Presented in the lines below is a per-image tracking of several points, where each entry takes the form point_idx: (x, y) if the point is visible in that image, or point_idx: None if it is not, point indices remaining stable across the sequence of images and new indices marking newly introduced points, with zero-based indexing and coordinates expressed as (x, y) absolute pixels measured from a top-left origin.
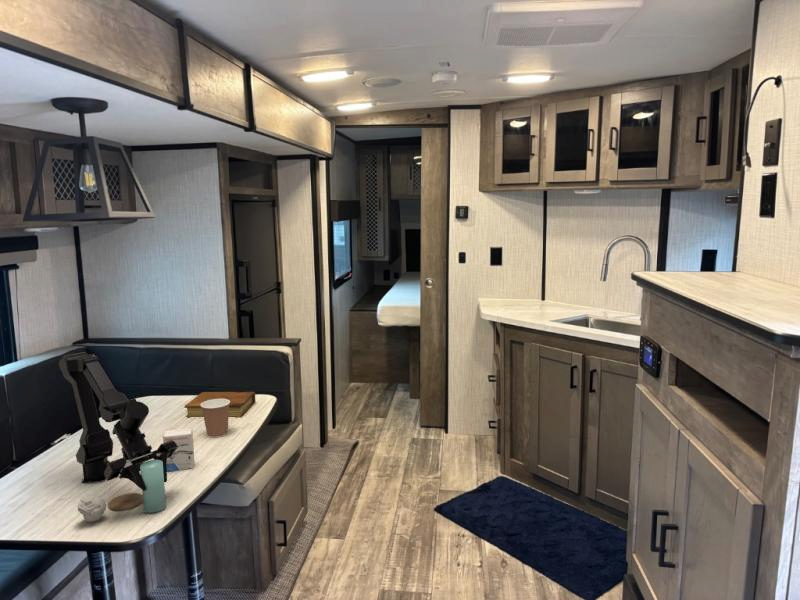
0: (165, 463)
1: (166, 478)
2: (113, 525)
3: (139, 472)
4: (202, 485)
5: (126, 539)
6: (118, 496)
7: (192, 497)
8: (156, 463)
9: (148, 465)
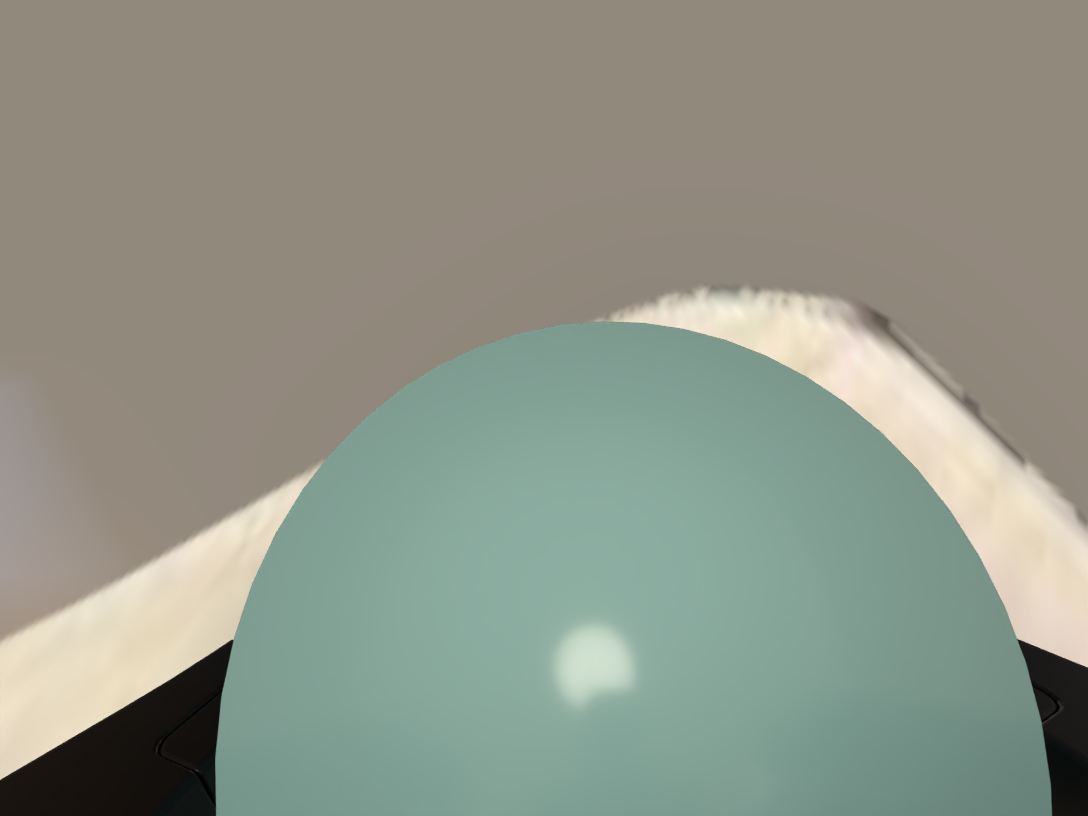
0: (164, 704)
1: None
2: None
3: None
4: (41, 671)
5: (873, 354)
6: None
7: (262, 525)
8: (483, 570)
9: (758, 645)
